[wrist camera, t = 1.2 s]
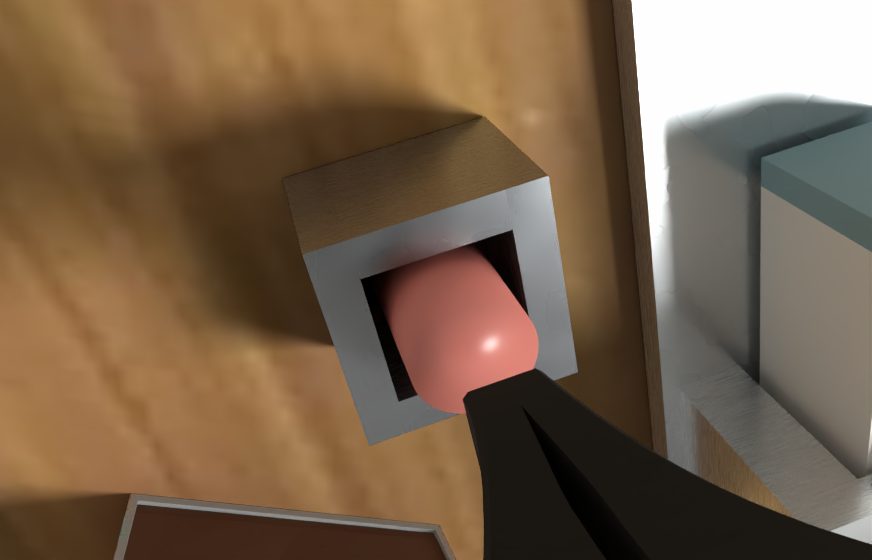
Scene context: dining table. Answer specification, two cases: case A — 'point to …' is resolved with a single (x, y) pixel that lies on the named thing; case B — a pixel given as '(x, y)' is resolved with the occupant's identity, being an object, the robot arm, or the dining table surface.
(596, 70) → the dining table surface
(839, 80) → the housing
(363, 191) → the plunger collar
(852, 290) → the cartridge
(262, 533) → the food container
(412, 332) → the plunger
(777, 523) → the robot arm
